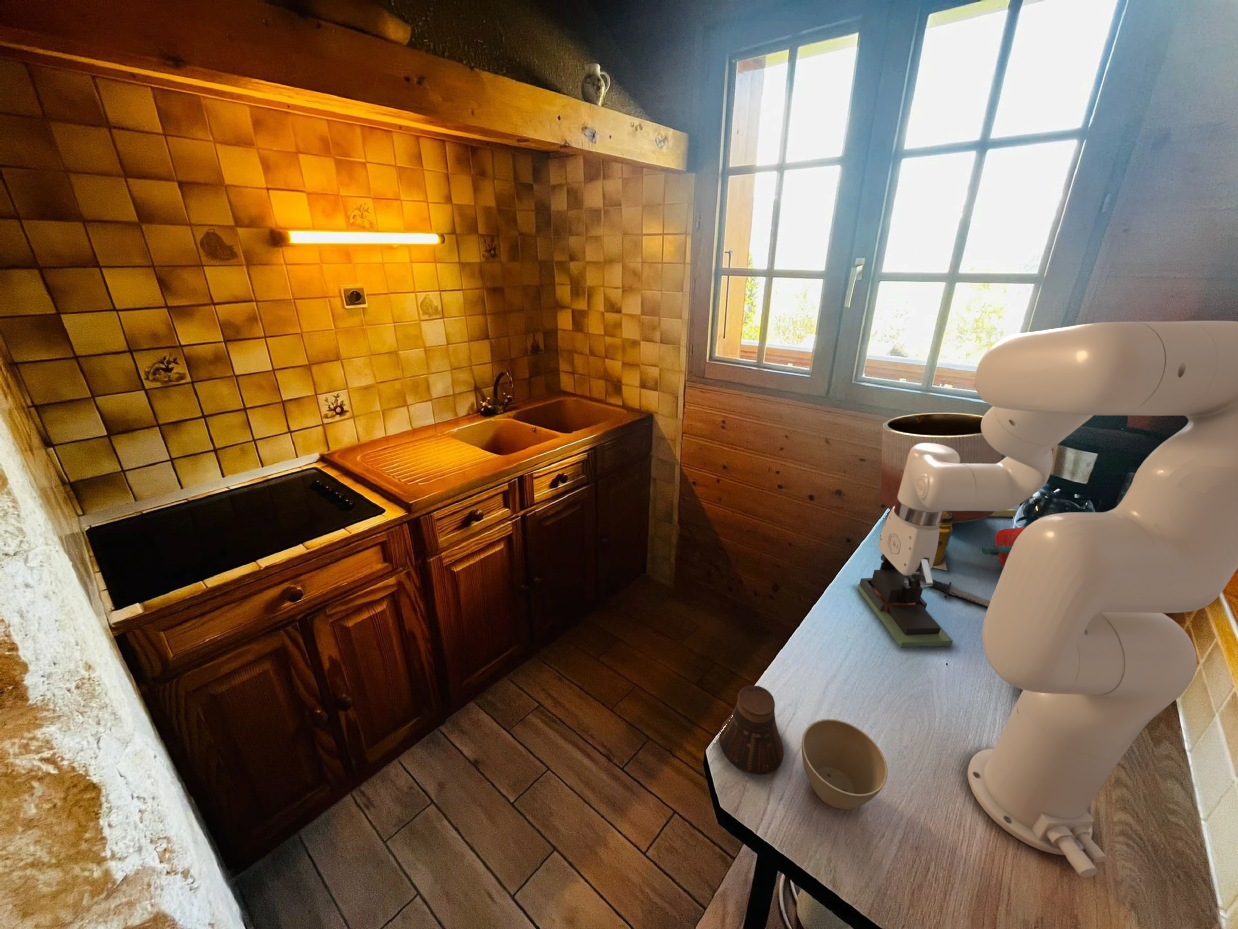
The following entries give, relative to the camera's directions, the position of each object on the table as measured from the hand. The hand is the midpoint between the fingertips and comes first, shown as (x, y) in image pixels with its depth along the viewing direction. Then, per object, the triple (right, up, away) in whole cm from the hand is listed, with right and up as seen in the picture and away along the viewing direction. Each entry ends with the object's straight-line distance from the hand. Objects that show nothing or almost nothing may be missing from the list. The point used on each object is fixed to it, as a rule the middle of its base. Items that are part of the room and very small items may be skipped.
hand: (895, 589), depth 96 cm
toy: (+45, +7, +9) cm, 46 cm away
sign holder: (+38, +12, +30) cm, 50 cm away
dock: (0, -5, -1) cm, 5 cm away
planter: (+28, +13, +31) cm, 44 cm away
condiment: (+16, +3, +15) cm, 22 cm away
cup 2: (-34, -8, -30) cm, 46 cm away
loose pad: (0, -1, 0) cm, 1 cm away
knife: (+15, -2, +3) cm, 15 cm away
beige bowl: (-26, -19, -31) cm, 44 cm away
